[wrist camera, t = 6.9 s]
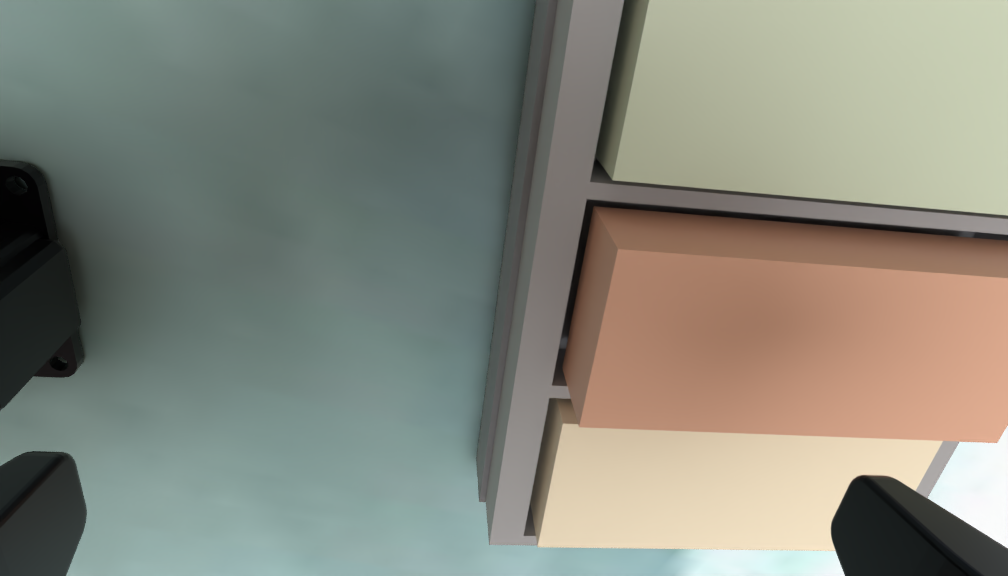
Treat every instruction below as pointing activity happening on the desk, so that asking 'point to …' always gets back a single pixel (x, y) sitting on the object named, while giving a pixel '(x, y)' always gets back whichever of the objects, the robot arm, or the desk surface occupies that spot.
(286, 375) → the desk surface
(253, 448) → the desk surface
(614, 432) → the sand key
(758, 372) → the terracotta key
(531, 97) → the pastel key tray
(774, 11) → the sage key
